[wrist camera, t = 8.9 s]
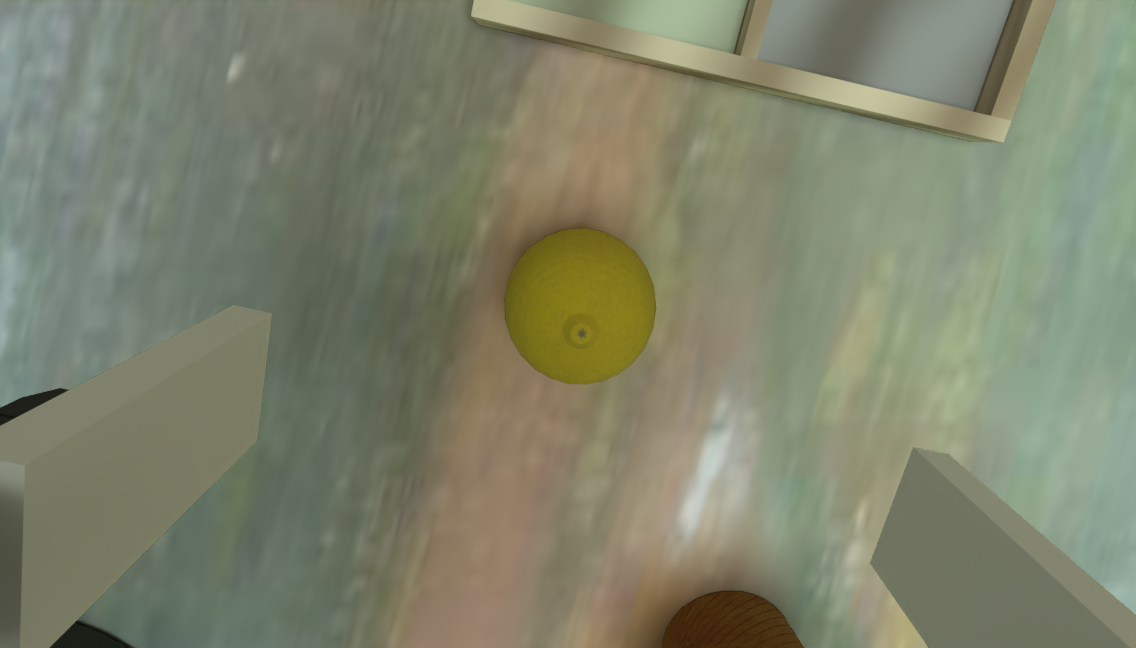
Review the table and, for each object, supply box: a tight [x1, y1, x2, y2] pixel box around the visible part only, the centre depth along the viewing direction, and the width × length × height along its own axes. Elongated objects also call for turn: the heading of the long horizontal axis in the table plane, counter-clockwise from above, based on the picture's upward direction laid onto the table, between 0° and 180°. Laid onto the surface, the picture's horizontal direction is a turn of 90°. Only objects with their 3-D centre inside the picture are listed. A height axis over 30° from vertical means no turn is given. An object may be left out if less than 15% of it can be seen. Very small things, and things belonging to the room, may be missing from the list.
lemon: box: [504, 228, 656, 384], centre depth 27 cm, size 6×6×8 cm
